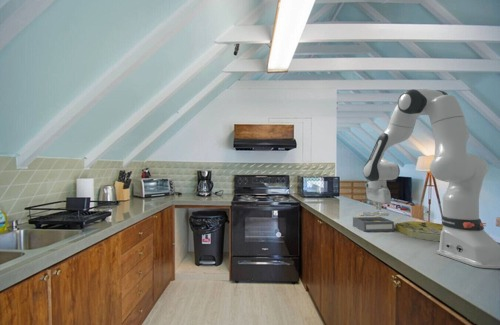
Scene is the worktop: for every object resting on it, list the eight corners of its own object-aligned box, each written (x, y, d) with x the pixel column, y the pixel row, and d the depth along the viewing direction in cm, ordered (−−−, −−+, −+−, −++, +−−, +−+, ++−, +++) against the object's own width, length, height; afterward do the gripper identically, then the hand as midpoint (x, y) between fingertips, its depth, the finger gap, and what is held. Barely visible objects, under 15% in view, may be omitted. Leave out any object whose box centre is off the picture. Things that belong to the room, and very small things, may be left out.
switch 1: (370, 215, 141) (370, 211, 141) (363, 215, 141) (362, 211, 141) (363, 215, 148) (363, 212, 149) (356, 216, 148) (356, 212, 149)
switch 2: (379, 214, 141) (379, 211, 141) (372, 214, 141) (371, 211, 141) (372, 215, 149) (372, 212, 149) (365, 215, 148) (365, 212, 149)
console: (394, 231, 138) (394, 221, 138) (364, 231, 137) (364, 222, 137) (380, 225, 152) (379, 216, 152) (352, 225, 152) (352, 216, 152)
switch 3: (388, 215, 141) (388, 212, 141) (381, 216, 141) (381, 212, 141) (380, 214, 149) (380, 211, 149) (373, 214, 149) (373, 211, 149)
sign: (406, 233, 122) (390, 220, 151) (407, 240, 122) (391, 226, 151) (478, 237, 114) (447, 222, 143) (478, 244, 114) (447, 228, 143)
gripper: (393, 186, 138) (394, 212, 138) (374, 184, 158) (375, 207, 158) (382, 186, 138) (383, 212, 137) (364, 184, 158) (364, 207, 158)
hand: (378, 209), depth 148 cm, fingers closed
